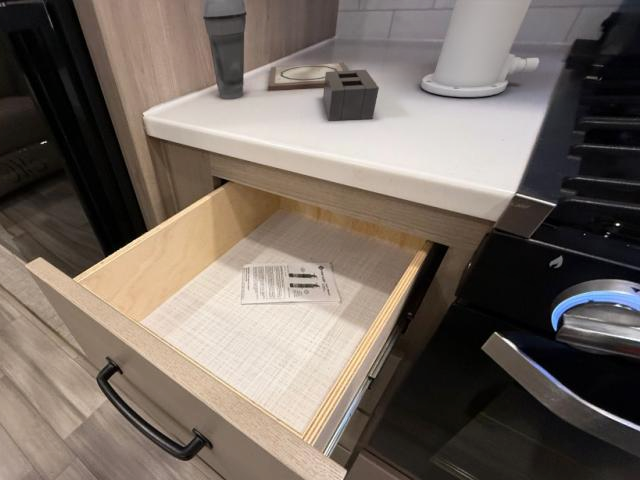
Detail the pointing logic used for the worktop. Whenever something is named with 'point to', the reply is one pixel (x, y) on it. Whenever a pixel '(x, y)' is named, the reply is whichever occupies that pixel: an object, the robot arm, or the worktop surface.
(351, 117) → the block
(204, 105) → the worktop surface
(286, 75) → the drawing board
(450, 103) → the worktop surface
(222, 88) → the beverage cup
